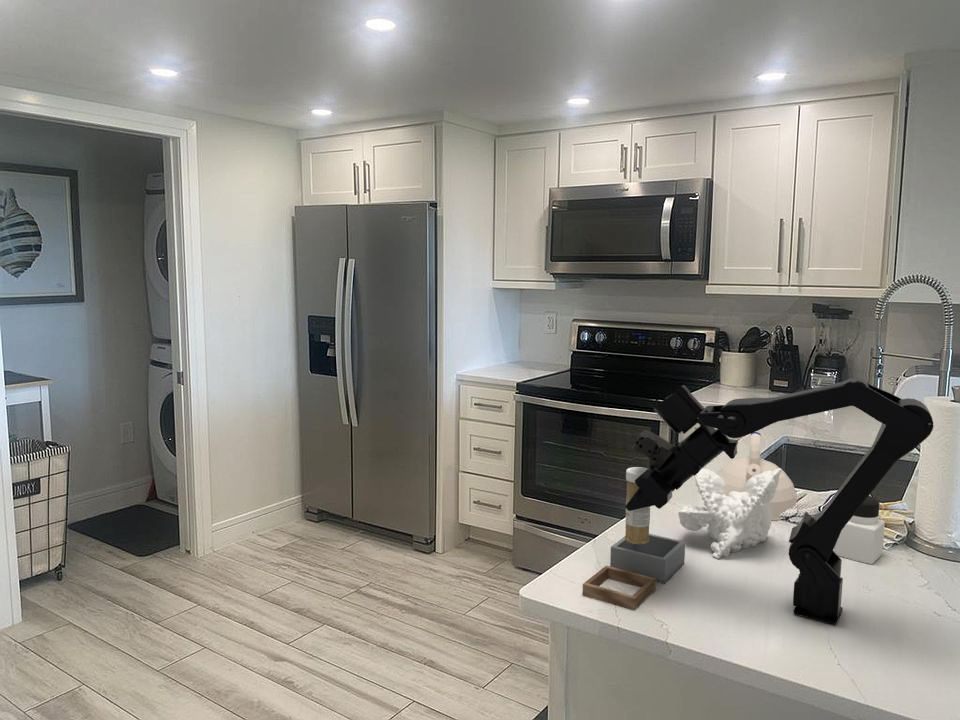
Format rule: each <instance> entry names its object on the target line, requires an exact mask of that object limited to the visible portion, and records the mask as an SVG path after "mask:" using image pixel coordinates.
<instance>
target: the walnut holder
mask: <svg viewBox="0 0 960 720" xmlns="http://www.w3.org/2000/svg"><path fill="white" fill-rule="evenodd" d="M608 579H609V580H613V581H615V582H621V583H625V584H628V585H631V586H635V587H639V588H638V590H637V591H636V592H635V593H633V595H631V594H628V593H624V592H620V591H617V590H614V589H610V588H606V587H603V586H601V585H602V584H604V582H606V581H607V580H608ZM656 589H657V582H656V578H653V577H649V576H645V575H641V574H637V573H634V572H630V571H626V570H622V569H618V568H614V567H610V565H605V566H603V567H602V568H601V569H600V570H599V571H597V572H596V573H595V574H593V575H592V576H591V577H590V578H589V579H587V580H586V581H585V582H584V583H582V594H581V595H582V596H585V597H588V598H591V599H596V600H598V601H602V602H605V603H608V604H609V603H610V604H612V605H616V606H619V607H621V608H622V607H623V608H626V609H629V610H633V611H636V609H637V608H639V606H640V605H642V604H643V602H645V600H646V599H648V598H649V597H650V595H652V594H653V592H655V591H656Z"/></svg>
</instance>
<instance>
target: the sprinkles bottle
mask: <svg viewBox="0 0 960 720" xmlns="http://www.w3.org/2000/svg"><path fill="white" fill-rule="evenodd" d="M647 469H648V468H647V467H641V466H633V467H628V468H627V469H626V471H625V480H626V498H625V500H626V501H625V506H626V505H627V503H628V502H629V501H630V499H631V498H632V497H633V496H634V494H635V493H636V492H637V490H638V489H639V487H638V486H637V485H636V483H635V480H636V479H637V478H638V477H639V476H640V475H641V474H642V473H643V472H645V471H646V470H647ZM650 520H651V506H649V507H645V508H640V509H636V510H632V511H628V510H627V508H626V507H625V535H624V537H625V540H626V541H627V542H629V543H632V544H646V543H648V542H649V540H650V539H649V534H650V524H651V521H650Z"/></svg>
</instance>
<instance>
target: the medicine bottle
mask: <svg viewBox="0 0 960 720" xmlns="http://www.w3.org/2000/svg"><path fill="white" fill-rule="evenodd" d="M879 513H880V501H879V500H878V499H877V498H876V497H874V496H871V495H869V496H868V497H867V499H866V500H865V501H864V503H863V504H862V505H861V506H860V508H859V509H858V510H857V511H856V513H855V514H854V515H853V516H852V518H851V519H850V520H849V522H848V523H847V524H846V525H845V527H844V528H843V529H842V531H841V533H840V535H839V538H838V540H837V542H836V545H835V547H834V549H833V551H834V552H835V553H836V554H837V555H838V556H839V557H840V558H844V559H849V560H852V561H856V562H860V563H864V564H868V565H873V564H874V563H875V562H876V561H877V560H878V559H879V558H880V557H881V556H882V554H883V549H884V539H885V538H884V537H885V525H886V522H885V520H883V519H879Z"/></svg>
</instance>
